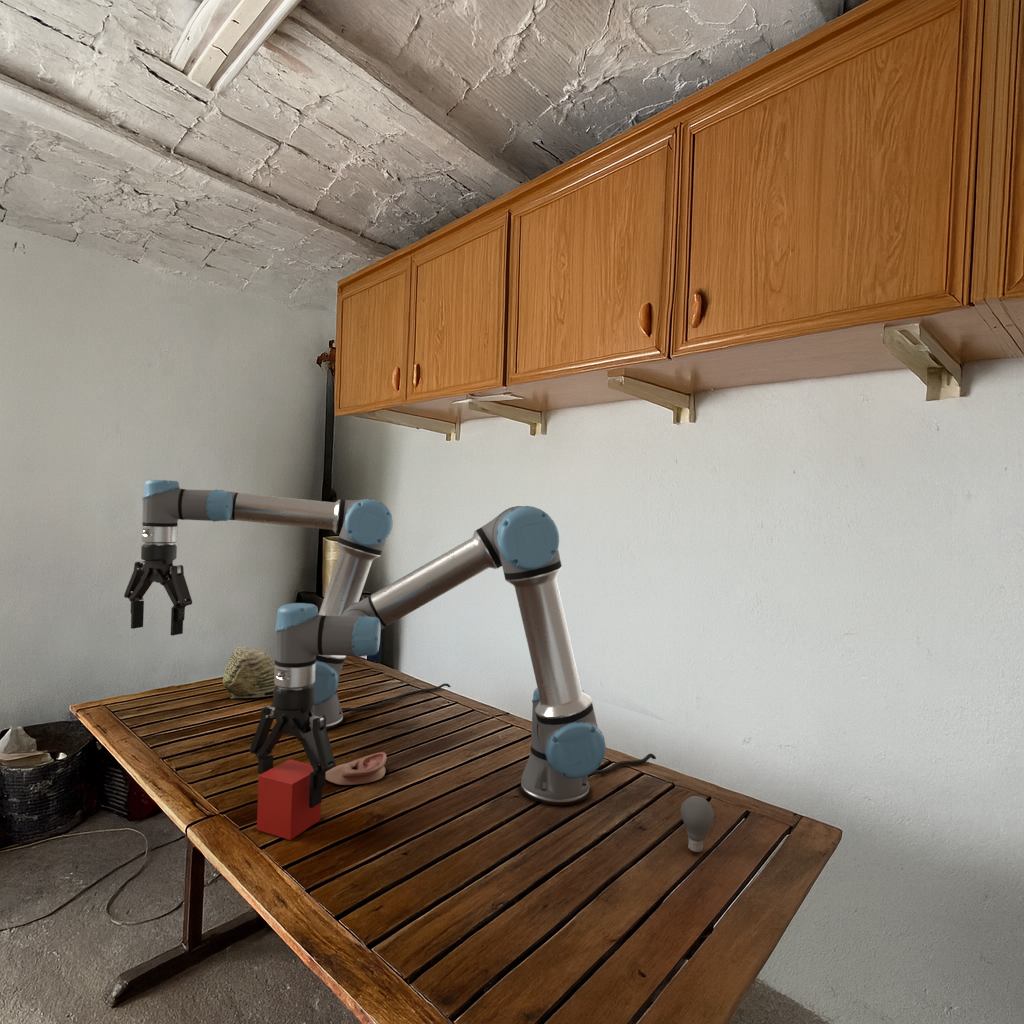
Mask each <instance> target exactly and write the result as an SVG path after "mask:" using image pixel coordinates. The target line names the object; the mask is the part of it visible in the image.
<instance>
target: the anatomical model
mask: <svg viewBox="0 0 1024 1024" xmlns="http://www.w3.org/2000/svg"><path fill="white" fill-rule="evenodd" d="M386 762H387V754H386V752H383V751H382V752H376V753H372V754H369V755H366V756H363V757H360V758H357V759H354V760H352V761H350V762H346V763H342V764H338V765H335V767H333V768H332V769H330V770H328V771H326V777H325V781H328V782H330V783H333V784H335V785H340V786H353V785H362V784H368V783H372V782H375V781H379V780H380V779H382V778H383V777H384V776H385V774H386V767H385V765H386Z"/></svg>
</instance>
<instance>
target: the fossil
mask: <svg viewBox="0 0 1024 1024" xmlns="http://www.w3.org/2000/svg"><path fill="white" fill-rule="evenodd" d="M274 668H275V660H273V659H272V658H271V657H270V656H269V655H268V654H267V653H266V652H265V650H264V649H263V648H260V647H258V648H251V647H247V646H246V647H245V646H238V647H237V648H236V649H235V650H233V651H232V653H231V656H230V657H229V659H228V660H227V663H226V666H225V668H224V671H223V675H222V676H223V677H222V685H223V687H224V688H225V690H226V691H228V693H229V698H230V699H250V698H264V697H271V696H272V697H273V689H274V688H275V686H276V685H275V684H274Z"/></svg>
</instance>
